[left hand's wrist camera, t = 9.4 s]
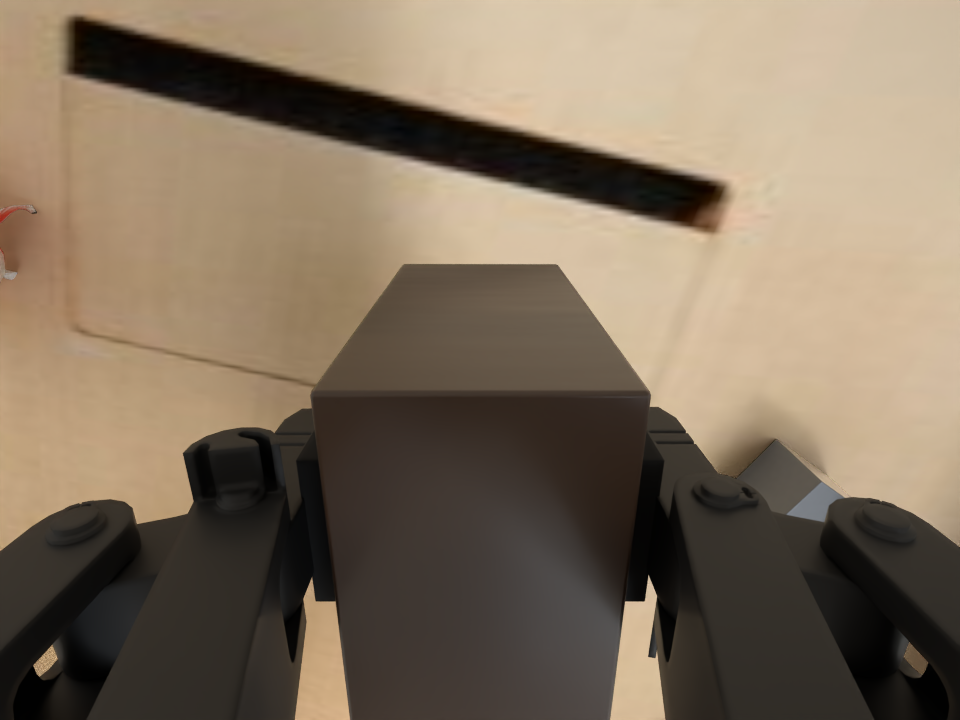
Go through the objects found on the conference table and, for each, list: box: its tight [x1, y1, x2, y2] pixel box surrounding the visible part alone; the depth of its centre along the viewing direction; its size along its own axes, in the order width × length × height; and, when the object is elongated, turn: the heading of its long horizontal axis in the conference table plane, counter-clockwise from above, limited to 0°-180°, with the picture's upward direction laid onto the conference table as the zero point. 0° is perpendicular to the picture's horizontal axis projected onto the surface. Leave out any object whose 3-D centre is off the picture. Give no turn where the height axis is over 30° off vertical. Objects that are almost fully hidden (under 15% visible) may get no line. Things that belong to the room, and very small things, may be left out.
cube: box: [736, 439, 851, 522], centre depth 31 cm, size 4×4×4 cm
